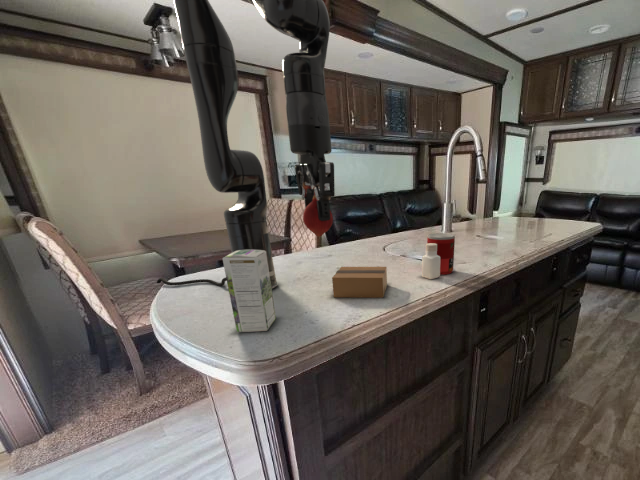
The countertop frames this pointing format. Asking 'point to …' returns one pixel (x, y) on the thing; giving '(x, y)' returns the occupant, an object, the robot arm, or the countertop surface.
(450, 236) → the canned food
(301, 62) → the robot arm
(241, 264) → the syrup box
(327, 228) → the onion
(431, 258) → the pepper shaker
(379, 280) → the cardboard box
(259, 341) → the countertop surface
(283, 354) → the countertop surface
